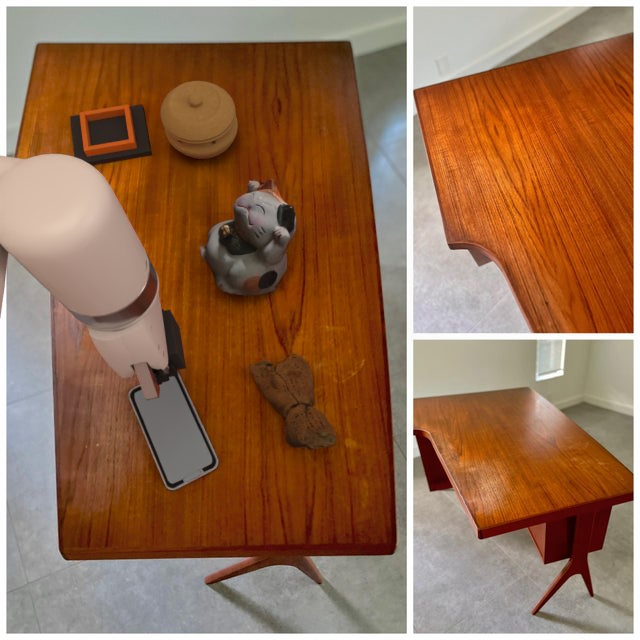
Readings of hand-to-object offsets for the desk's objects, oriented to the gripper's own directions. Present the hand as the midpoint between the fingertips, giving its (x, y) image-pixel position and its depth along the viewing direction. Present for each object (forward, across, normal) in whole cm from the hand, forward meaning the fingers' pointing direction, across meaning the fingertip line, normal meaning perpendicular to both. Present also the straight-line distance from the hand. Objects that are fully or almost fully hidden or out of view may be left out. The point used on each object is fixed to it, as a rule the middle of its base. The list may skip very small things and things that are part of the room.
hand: (160, 350), depth 60 cm
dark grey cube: (+1, 0, 0) cm, 1 cm away
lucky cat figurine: (+15, -18, +13) cm, 27 cm away
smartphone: (+15, +6, -2) cm, 16 cm away
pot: (+15, -41, +9) cm, 45 cm away
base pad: (+15, -45, -6) cm, 48 cm away
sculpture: (+15, +7, +14) cm, 21 cm away
